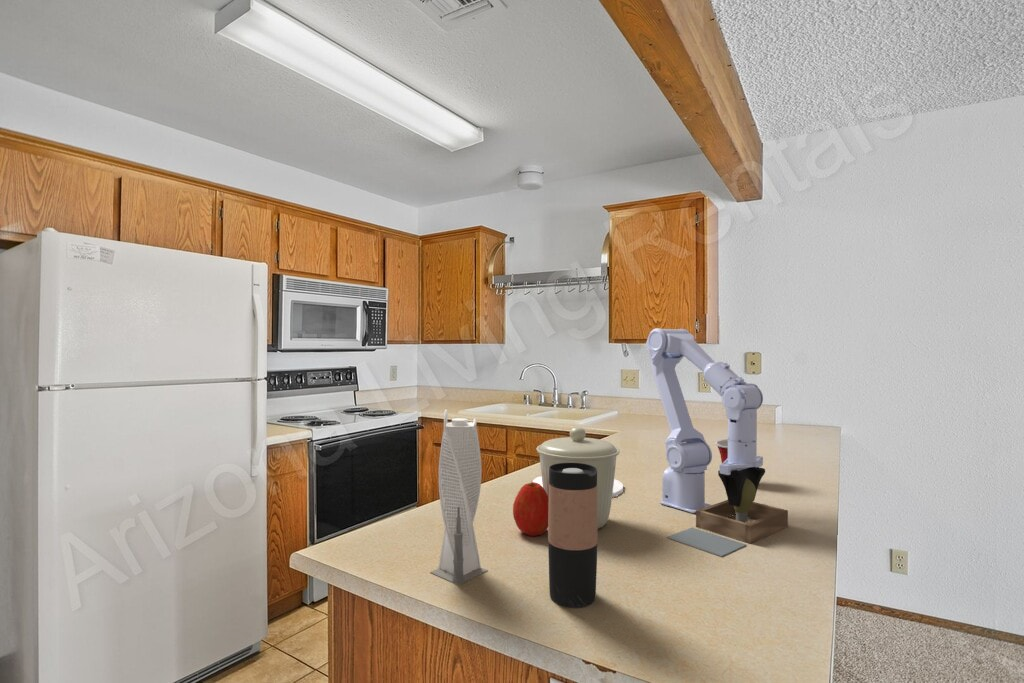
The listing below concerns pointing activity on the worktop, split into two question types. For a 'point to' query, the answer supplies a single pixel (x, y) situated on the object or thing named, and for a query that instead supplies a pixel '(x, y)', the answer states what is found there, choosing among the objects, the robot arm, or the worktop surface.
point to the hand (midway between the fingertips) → (741, 502)
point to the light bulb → (745, 501)
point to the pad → (707, 541)
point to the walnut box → (747, 532)
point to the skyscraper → (459, 500)
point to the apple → (531, 509)
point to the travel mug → (572, 534)
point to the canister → (586, 453)
